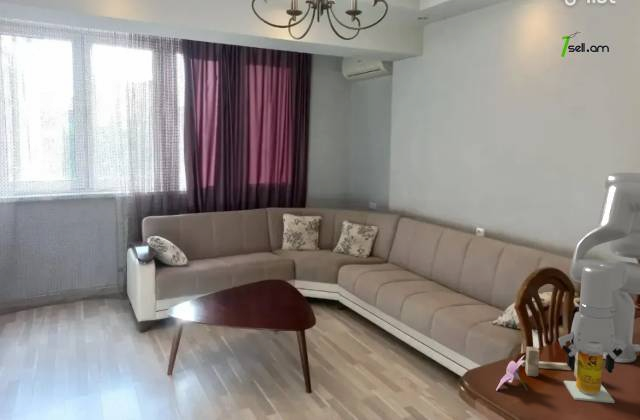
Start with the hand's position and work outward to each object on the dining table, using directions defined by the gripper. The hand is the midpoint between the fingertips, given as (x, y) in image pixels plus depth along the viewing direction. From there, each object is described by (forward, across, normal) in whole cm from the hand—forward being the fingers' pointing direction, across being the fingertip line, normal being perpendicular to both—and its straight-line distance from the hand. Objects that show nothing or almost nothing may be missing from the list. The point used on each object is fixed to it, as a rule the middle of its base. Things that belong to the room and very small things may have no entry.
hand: (589, 369), depth 140 cm
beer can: (+6, 0, 0) cm, 6 cm away
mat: (+7, 0, 0) cm, 7 cm away
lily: (+7, +21, +1) cm, 22 cm away
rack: (+7, +6, -11) cm, 15 cm away
